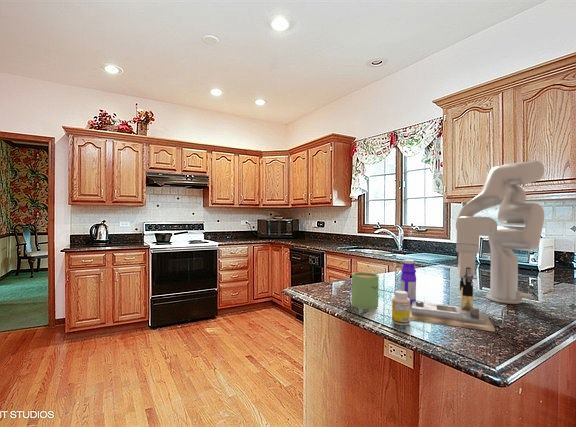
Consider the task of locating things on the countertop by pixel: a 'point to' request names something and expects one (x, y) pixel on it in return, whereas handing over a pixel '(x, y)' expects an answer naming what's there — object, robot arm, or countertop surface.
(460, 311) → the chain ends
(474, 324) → the board
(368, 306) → the mug
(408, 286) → the bottle
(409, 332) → the countertop surface
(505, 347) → the countertop surface
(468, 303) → the pin
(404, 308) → the supplement bottle
